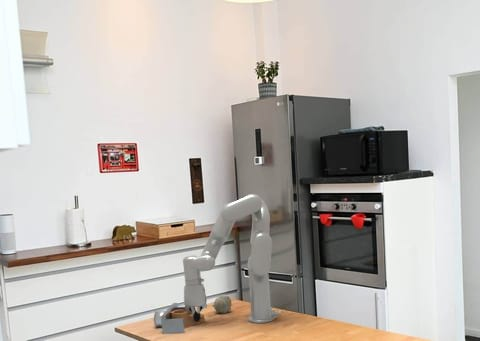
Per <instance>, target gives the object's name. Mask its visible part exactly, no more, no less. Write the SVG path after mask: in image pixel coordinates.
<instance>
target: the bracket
mask: <svg viewBox="0 0 480 341" xmlns="http://www.w3.org/2000/svg"><path fill="white" fill-rule="evenodd" d="M183 318H184V329H186V328H189V327H193V326H197V325H199V324H202V323H204V322H205V314H204V313H200V318H201V319H200V320H199V322H195V320H194V316H193V314H190V315H189V310H185V309H181V310H175V311H172V312H171V319H183Z"/></svg>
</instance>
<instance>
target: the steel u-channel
mask: <svg viewBox="0 0 480 341" xmlns="http://www.w3.org/2000/svg"><path fill="white" fill-rule="evenodd" d="M181 309H185V306H178V302H173V303H172V304H171V305H170V306H169V307H168V308H167V309H166V310H158V311H155V312H154V315H153V324H154V327H156V328H157V327H159V328H160V327H161V334H163V335H164V334H185V329H186V328H184V318H183V319H171V312H172V311H175V310H181ZM190 314H193V313H192V312H191V311H190V310H189V315H190Z"/></svg>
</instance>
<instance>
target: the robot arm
mask: <svg viewBox="0 0 480 341" xmlns="http://www.w3.org/2000/svg"><path fill="white" fill-rule="evenodd" d="M250 215H251V219H252V220H251V232H250V234H251V235H250V245H251V247H250V256H249V257H248V260H247V272H248V284H249V299H250V301H249V302H250V314H251V315H250V316H248V318H247V319H248V322H250V323H255V324H265V323H270V322H273V321H274V320H276V319H275V316H278V317H279V316H281V311H279V310H273V309H272V308H271V294H270V293H271V292H270V277H269V276H270V275H269V271H270V269H271V264H272V262H271V261H272V250H273V240H272V237H271V235H270V227H271V226H270V223H271V218H270V217H271V216H270V211H269V208H268V206H267V204H266V203H265V202H264V201H263V199H262V198H261V197H260V196H259V195H257V194H256V193H255V194H254V193H249V194H247V195H245V196H244V197H242V198H240V199H238V200H235V201H232V202H228V203H225V204H224V205H223V206H222V207H221V209H220V211H219V213H218V215H217V218H216V219H215V222H214V224H213V226H212V229H211V231H210V234H209V237H208V239H207V242H206V243H205V245H204V248H203V250H202V252H201V254H200V255H199V256H197V255H187V256H185V257H183V259H182V264H183V272H184V282H185V283H184V287H183V303H184V307H185V310H190V311H191V312H192V313H193V316H194V320H195V322H199V320H200V319H201V318H200V314H201V312H202V310H204V309H206V308H208V304H207V295H206V294H207V293H206V289H205V286H204V283H203V282H205V278H203V277H202V276H201V271H202V272H203V271H206V272H207V271H211V270H212V269H214V267H215V265H216V260H217V257H218V255H219V253H220V250H221V249H222V247H223V245H224V244H225V242H227V240H228V238H229V236H230V235H231V232H232V229H233V227H234V225H235V223H236V221H238V220H241V219H243V218H245V217H248V216H250Z"/></svg>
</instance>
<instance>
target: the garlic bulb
mask: <svg viewBox="0 0 480 341" xmlns="http://www.w3.org/2000/svg"><path fill="white" fill-rule="evenodd" d="M212 307H213V308H214V311H215V312H216V313H217V314H218V313H219V314H227V313H228V312H230V311H232V299H231V298H230V296H229V295H226V294H224V295H219V296H218V297H216V298H215V300H214V302H213V304H212Z"/></svg>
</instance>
